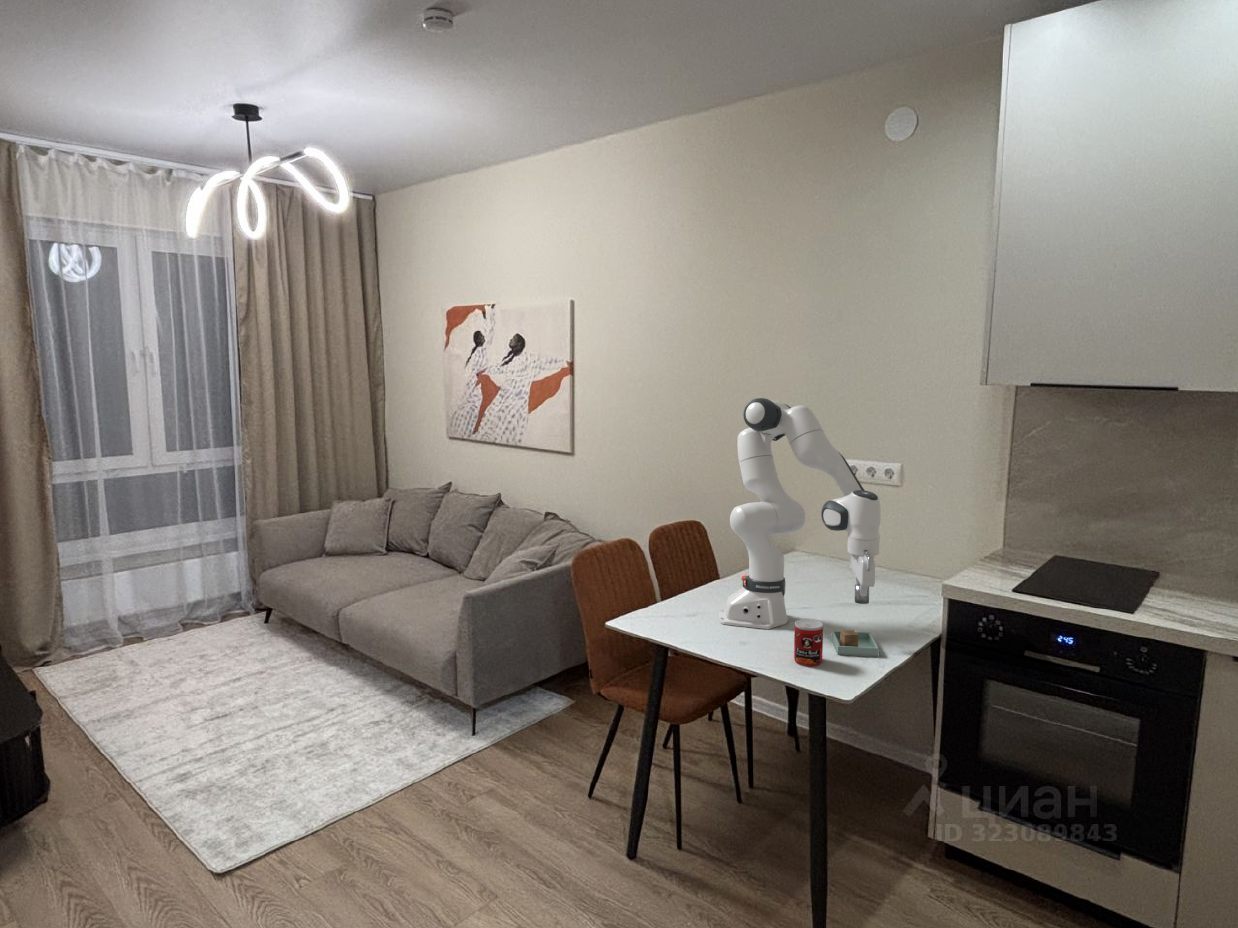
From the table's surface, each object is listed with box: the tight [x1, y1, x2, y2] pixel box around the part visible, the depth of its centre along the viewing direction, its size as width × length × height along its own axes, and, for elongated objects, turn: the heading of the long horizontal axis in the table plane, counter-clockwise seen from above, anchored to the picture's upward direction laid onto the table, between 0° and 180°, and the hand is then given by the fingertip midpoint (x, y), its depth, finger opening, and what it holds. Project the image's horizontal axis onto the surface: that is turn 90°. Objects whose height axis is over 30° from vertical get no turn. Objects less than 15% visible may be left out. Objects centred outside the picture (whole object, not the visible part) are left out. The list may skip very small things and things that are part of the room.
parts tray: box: [830, 630, 880, 658], centre depth 220 cm, size 11×13×2 cm
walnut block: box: [839, 629, 859, 647], centre depth 217 cm, size 4×4×5 cm
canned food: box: [793, 618, 824, 667], centre depth 209 cm, size 8×8×11 cm
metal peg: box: [854, 584, 870, 605], centre depth 220 cm, size 4×4×5 cm
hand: (861, 592), depth 220 cm, fingers closed on metal peg, 4 cm apart
